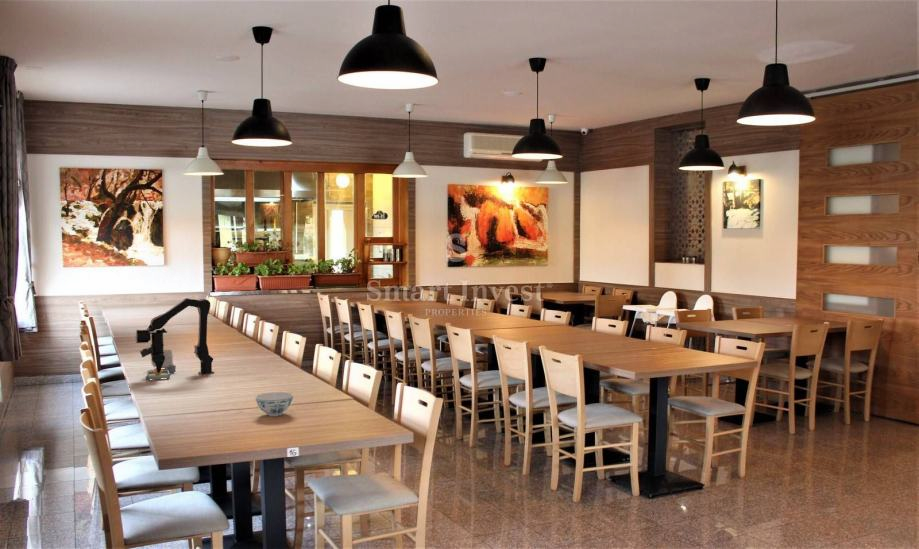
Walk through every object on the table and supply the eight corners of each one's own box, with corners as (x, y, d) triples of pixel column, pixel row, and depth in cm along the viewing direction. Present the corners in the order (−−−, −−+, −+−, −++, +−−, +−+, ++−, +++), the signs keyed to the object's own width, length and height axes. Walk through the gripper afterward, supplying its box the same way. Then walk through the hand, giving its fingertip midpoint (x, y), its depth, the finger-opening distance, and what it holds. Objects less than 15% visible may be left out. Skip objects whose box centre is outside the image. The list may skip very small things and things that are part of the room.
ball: (163, 375, 407) (163, 367, 407) (156, 376, 405) (155, 368, 405) (160, 374, 410) (160, 366, 410) (152, 375, 408) (152, 367, 407)
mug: (175, 368, 435) (174, 347, 435) (152, 370, 429) (151, 348, 429) (172, 366, 442) (171, 345, 441) (150, 368, 436) (149, 347, 435)
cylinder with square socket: (177, 372, 421) (177, 365, 421) (167, 374, 418) (167, 366, 417) (173, 371, 425) (172, 364, 425) (163, 372, 421) (163, 365, 421)
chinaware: (296, 410, 328) (296, 391, 328) (289, 418, 313) (289, 399, 313) (260, 410, 328) (259, 392, 327) (251, 418, 313) (251, 399, 312)
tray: (169, 379, 403) (169, 374, 403) (147, 380, 399) (147, 375, 399) (168, 374, 416) (168, 370, 416) (147, 376, 412) (146, 371, 412)
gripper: (140, 340, 412) (141, 370, 413) (141, 345, 395) (141, 375, 396) (163, 339, 417) (163, 368, 417) (164, 343, 399) (165, 374, 400)
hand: (158, 371), depth 407 cm, fingers open, 7 cm apart
